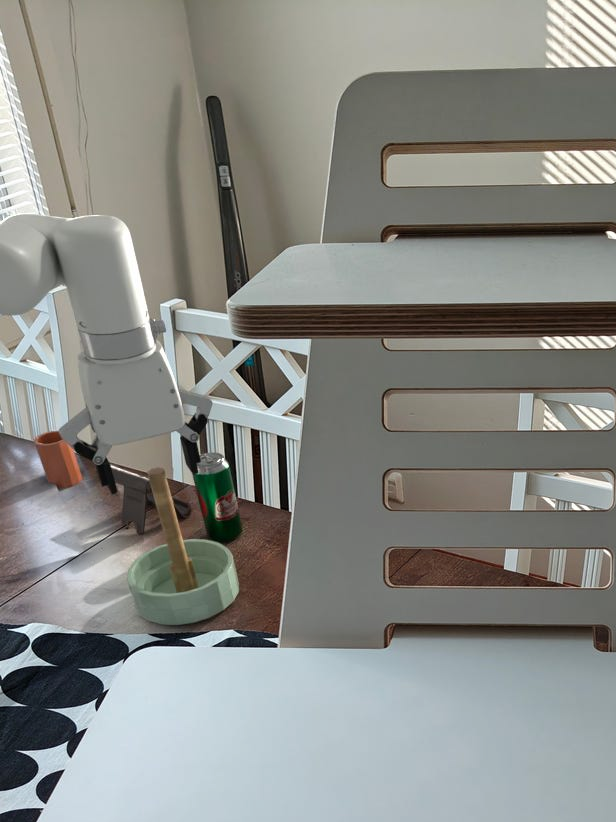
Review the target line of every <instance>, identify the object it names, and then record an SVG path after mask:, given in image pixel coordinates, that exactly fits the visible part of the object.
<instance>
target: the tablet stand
mask: <svg viewBox="0 0 616 822" xmlns="http://www.w3.org/2000/svg"><path fill="white" fill-rule="evenodd" d="M110 466H111V469H112V473H113V477H114V480H115V484H118V485H121V486H123V493H122V495H123V496H122V509H121V524H122V525H125V526H127V527H125V529H127V530H129V528H130V524H131V523H134V524H135V526H136V534H139V535H144V534H145V530H146V517H147V516H146V515H147V506H151V507H154V508H157V507H156V503H155V499H154V496H153V492H152V489H151V485H150V481H149V478H148V477H146V476H142V475H139V474H137V473H134V472H131V471H128V470H126V469H122V468H119V467H117V466H114V465H110ZM172 501H173V505H174V508H175V512H176V516H177V517H179V518H183V519H187V518H189V517H190V516H191V514H192V506H191V504H190V502H188V501H186V500H183V499H181V498H178V497H172Z"/></svg>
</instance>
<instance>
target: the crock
mask: <svg viewBox="0 0 616 822" xmlns="http://www.w3.org/2000/svg"><path fill="white" fill-rule="evenodd" d="M33 443H34V446H35V449H36V452H37V455H38V457H39V460H40V464H41V465H42V468H43V469H42V470H43V472H44V474H45V478H46V480H47V482H49V483H50V484H51V483H52V484H55V486H56V489H57V490H63V489H68V488H72V487H74V486H77V485H78V484H80V483H81V482H82V480H83V475H82V473H81V469H80V466H79V463H78V460H77V456H76V452H75V450H74V449H73V448H72V447H70V446H69V445H68V444H67V443H66V442H65V441H64V440H63V439H62V438H61V436H60V434H59V430H51V431H46V432H43V433H41V434H39V435H37V436H35V438H34V439H33Z"/></svg>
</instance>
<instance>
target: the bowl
mask: <svg viewBox="0 0 616 822" xmlns="http://www.w3.org/2000/svg"><path fill="white" fill-rule="evenodd" d="M183 543H184V547H185V550H186V554H187V558H191V560H192V563H193V567H194V571H195V575H196V579H197V583H198V586H199V588H196V589H193V590H190V591H186V592H180V593H177V592H176V589H175V585H174V581H173V578H172V574H171V571H170V567H169V564H171V563H172V561H171V558H170V554H169V550H168V547H167V543H164V544H161V545H158V546H155V547H154V548H152V549H149V550H147V551H145V552H144V553H143V554H141V555H140V556H138V557H137V558H136V559H134V561H133V562H132V563H131V564H130V566H129V567H128V569H127V574H126V581H127V583H128V584H127V585H128V588H129V591H130V595H131V597H132V600H133V603H134V606H135V607H134V608H135V609H136V611H137V613H138V615H139V616H141V617H142V618H144V619H145V620H147V621H149V622H152V623H156V624H159V625H167V626H169V625H170V626H179V625H181V626H182V625H186V624H193V623H198V622H201V621H203V620H207V619H210V618H212V617H214V616H215V615H217V614H219V613H221V612H223V611H225V610H226V608H228V607H229V606H231V604H232V603H233V602H234V601H235V600H236V598H237V596H238V594H239V592H240V582H239V578H238V577H239V576H238V572H237V568H236V564H235V560H234V556H233V554H232V552H231V551H230V549H229V548H228V547H227V546H226V545H223V544H221V542H215V541H213V540H210V539H209V540H208V539H203V538H202V539H200V538H191V539H190V538H189V539H183Z"/></svg>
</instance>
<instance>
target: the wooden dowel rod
mask: <svg viewBox="0 0 616 822" xmlns="http://www.w3.org/2000/svg"><path fill="white" fill-rule="evenodd" d="M146 473H147V478H148V479H149V481H150V485H151V489H152V492H153V496H154V499H155V503H156V507H155V508H156V510H157V513H158V514H157V515H158V517H159V521H160V525H161V528H162V532H163V535H164V539H165V544H167V547H168V550H169V554H170V558H171V561H172V563H171V564H169V567H170V571H171V574H172V578H173V581H174V585H175V589H176V592H177V593H180V592H186V591H190V590H193V589H196V588H199V586H198V583H197V579H196V575H195V571H194V567H193V563H192V560H191V558H187V554H186V550H185V547H184V543H183V540H184V539H183V536H182V532H181V527H180V524H179V520H178V516H177V515H176V512H175V508H174V505H173V501H172V500H173V497H172V494H171V490H170V486H169V482H168V479H167V474H166V471H165V468H164V467H161V466H156V467H151V468H149V469H148V470H147V472H146Z"/></svg>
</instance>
